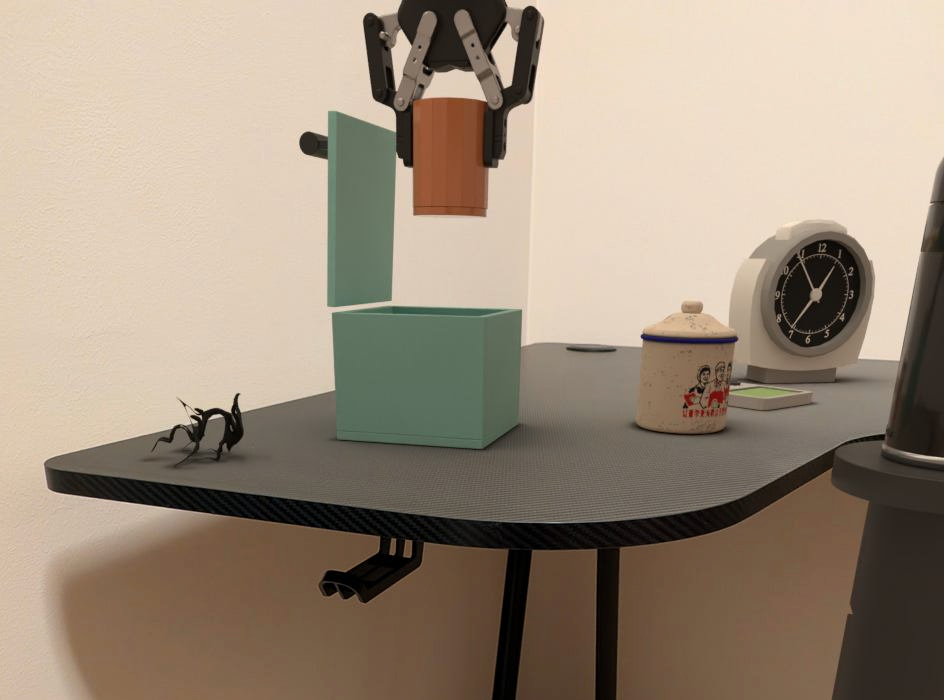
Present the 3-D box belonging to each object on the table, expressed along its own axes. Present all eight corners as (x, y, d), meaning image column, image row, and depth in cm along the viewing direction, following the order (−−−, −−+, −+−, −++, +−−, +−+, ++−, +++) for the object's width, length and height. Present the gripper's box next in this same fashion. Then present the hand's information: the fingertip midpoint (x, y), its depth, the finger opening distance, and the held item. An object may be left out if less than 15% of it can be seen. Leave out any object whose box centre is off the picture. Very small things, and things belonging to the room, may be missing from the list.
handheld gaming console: (709, 376, 116) (816, 388, 105) (708, 388, 116) (813, 402, 106) (658, 381, 110) (766, 395, 99) (657, 395, 111) (764, 410, 100)
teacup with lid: (691, 438, 84) (706, 304, 79) (614, 425, 90) (623, 300, 85) (761, 424, 91) (777, 301, 87) (685, 413, 98) (697, 298, 93)
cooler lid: (397, 132, 83) (342, 129, 85) (336, 110, 71) (274, 108, 73) (391, 301, 89) (341, 296, 91) (335, 307, 77) (277, 302, 79)
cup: (494, 218, 76) (497, 108, 73) (476, 215, 70) (478, 96, 67) (426, 217, 77) (426, 110, 74) (402, 214, 72) (402, 98, 69)
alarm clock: (746, 385, 120) (768, 217, 112) (715, 377, 128) (734, 219, 120) (865, 382, 124) (894, 220, 116) (828, 375, 132) (853, 222, 124)
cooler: (518, 424, 90) (522, 309, 86) (482, 449, 78) (484, 317, 74) (390, 416, 94) (388, 305, 90) (336, 439, 82) (331, 312, 78)
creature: (153, 483, 70) (253, 457, 71) (127, 414, 68) (232, 389, 69) (164, 462, 77) (255, 439, 78) (142, 399, 75) (236, 376, 76)
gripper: (342, -104, 64) (349, 163, 71) (541, -120, 61) (529, 162, 67) (379, -70, 71) (382, 171, 77) (561, -82, 67) (548, 171, 74)
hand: (451, 166), depth 72 cm, fingers closed on cup, 6 cm apart
